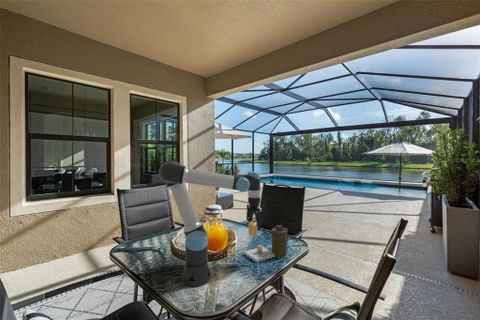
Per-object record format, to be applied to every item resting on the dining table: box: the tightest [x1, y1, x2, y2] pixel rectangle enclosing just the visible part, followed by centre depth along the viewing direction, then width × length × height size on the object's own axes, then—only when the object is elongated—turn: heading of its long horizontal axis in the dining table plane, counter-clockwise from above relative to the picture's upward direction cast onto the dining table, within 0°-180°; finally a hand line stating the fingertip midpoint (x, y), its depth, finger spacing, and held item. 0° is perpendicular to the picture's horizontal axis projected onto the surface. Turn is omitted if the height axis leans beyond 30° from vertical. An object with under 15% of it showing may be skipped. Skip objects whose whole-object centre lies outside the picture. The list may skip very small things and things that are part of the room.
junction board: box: [243, 244, 275, 263], centre depth 146 cm, size 16×14×6 cm
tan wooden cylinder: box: [248, 222, 262, 237], centre depth 136 cm, size 7×7×6 cm
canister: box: [271, 224, 289, 258], centre depth 148 cm, size 11×10×20 cm
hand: (254, 233), depth 137 cm, fingers closed on tan wooden cylinder, 7 cm apart
